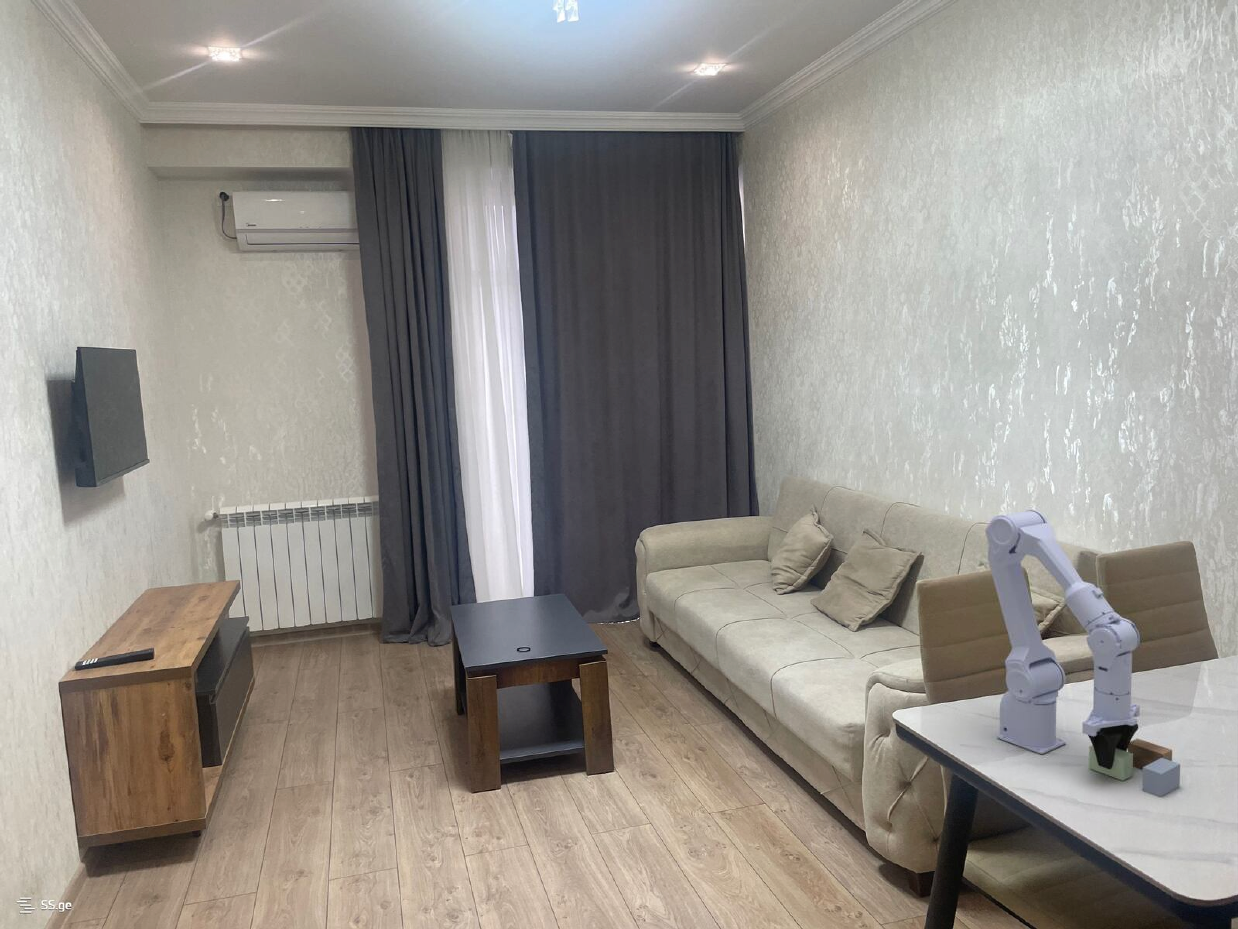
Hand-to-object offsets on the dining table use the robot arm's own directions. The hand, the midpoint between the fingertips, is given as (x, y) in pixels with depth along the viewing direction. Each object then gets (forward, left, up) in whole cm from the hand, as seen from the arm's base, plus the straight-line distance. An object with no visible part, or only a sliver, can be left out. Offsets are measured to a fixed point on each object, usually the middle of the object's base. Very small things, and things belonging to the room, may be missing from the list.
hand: (1110, 764), depth 157 cm
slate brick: (+8, +1, -2) cm, 8 cm away
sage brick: (0, 0, -1) cm, 1 cm away
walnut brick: (+3, +7, -2) cm, 8 cm away
